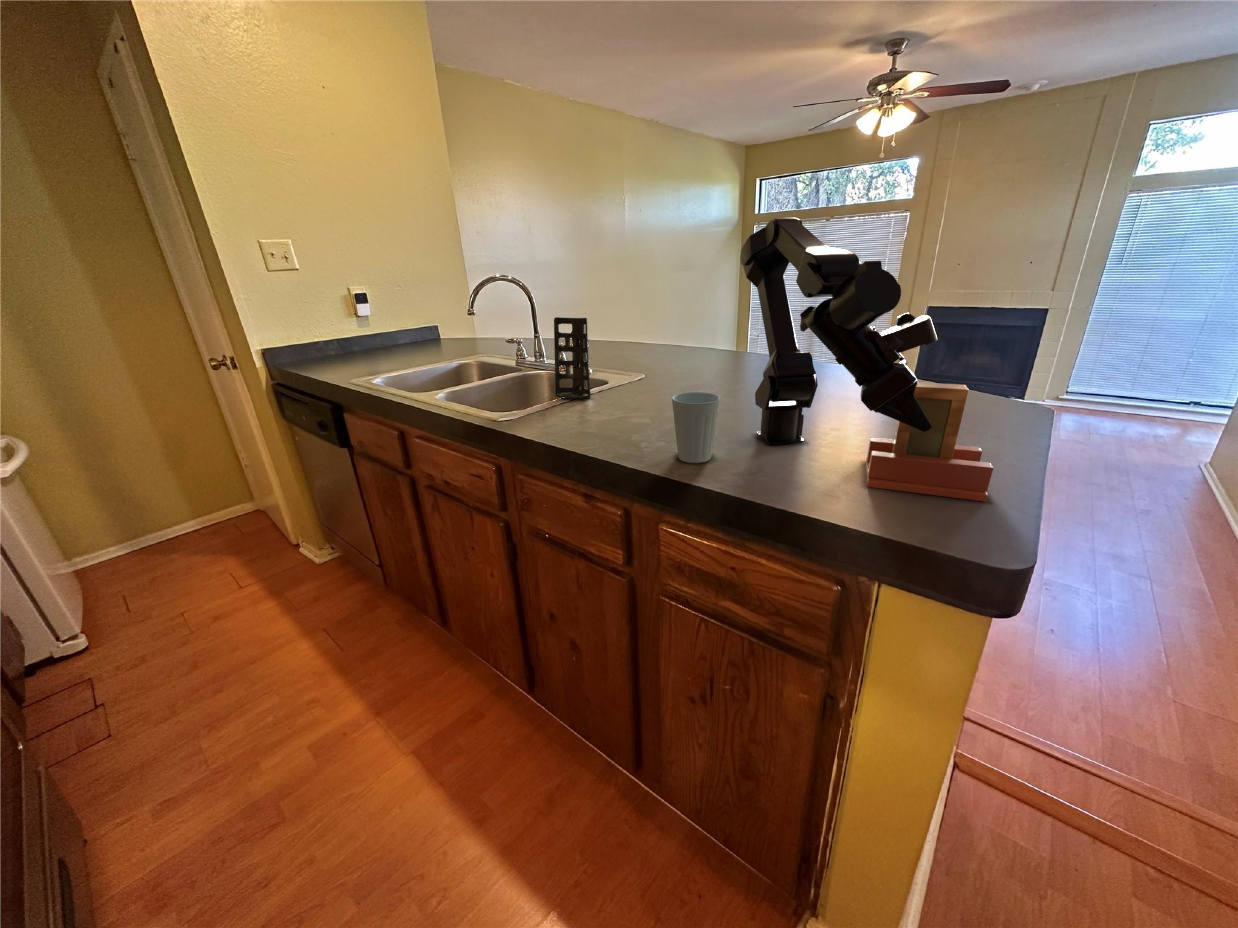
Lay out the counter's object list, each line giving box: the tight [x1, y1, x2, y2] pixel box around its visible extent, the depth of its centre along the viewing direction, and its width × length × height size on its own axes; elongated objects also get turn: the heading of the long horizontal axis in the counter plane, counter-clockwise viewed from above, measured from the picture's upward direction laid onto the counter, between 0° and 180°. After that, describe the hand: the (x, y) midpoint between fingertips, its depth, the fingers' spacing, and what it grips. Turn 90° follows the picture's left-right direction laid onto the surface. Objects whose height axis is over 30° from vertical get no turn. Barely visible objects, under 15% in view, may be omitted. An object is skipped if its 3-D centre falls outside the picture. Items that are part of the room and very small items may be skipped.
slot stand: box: [865, 437, 994, 503], centre depth 68 cm, size 14×10×4 cm
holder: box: [553, 316, 592, 401], centre depth 122 cm, size 11×8×20 cm
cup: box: [671, 391, 721, 464], centre depth 79 cm, size 8×8×10 cm
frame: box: [892, 381, 970, 459], centre depth 66 cm, size 7×3×13 cm, turn 63°
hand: (923, 420), depth 66 cm, fingers open, 9 cm apart
